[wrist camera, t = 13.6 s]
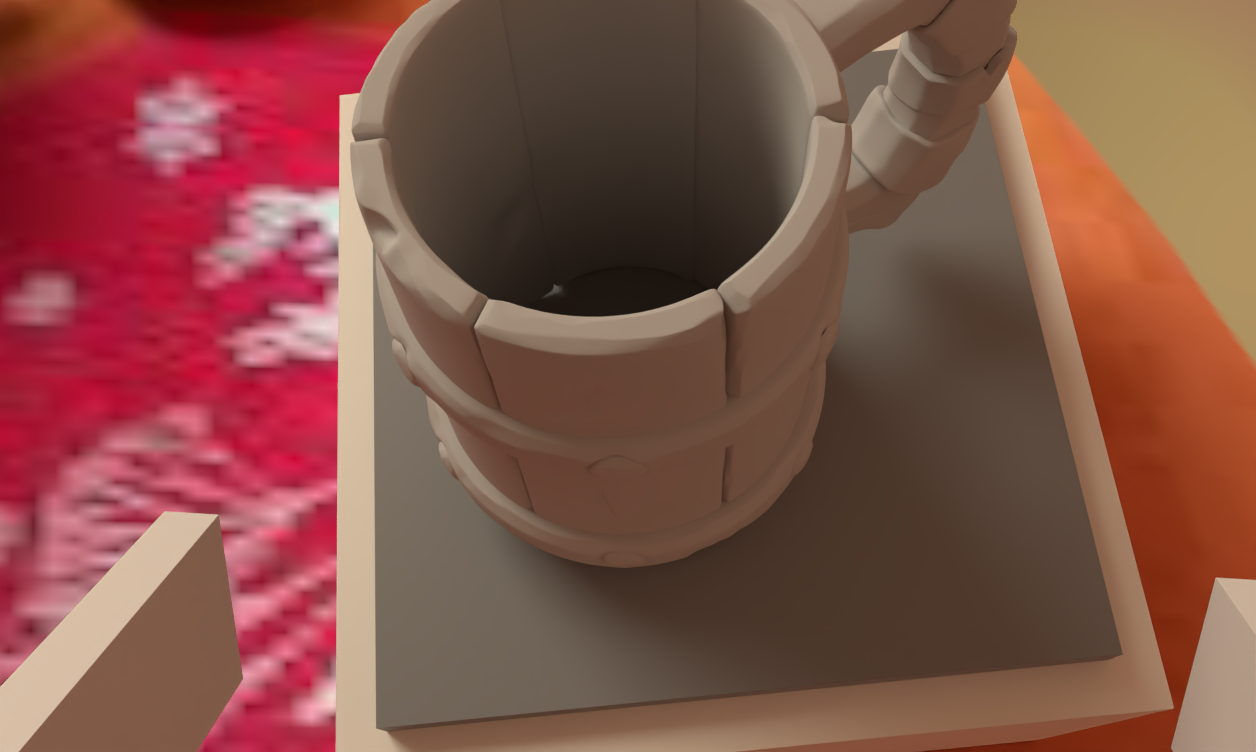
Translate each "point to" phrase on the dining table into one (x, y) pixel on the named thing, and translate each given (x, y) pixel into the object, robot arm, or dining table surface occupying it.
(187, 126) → the dining table surface
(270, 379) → the dining table surface
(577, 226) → the mug
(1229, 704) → the robot arm
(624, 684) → the stand
